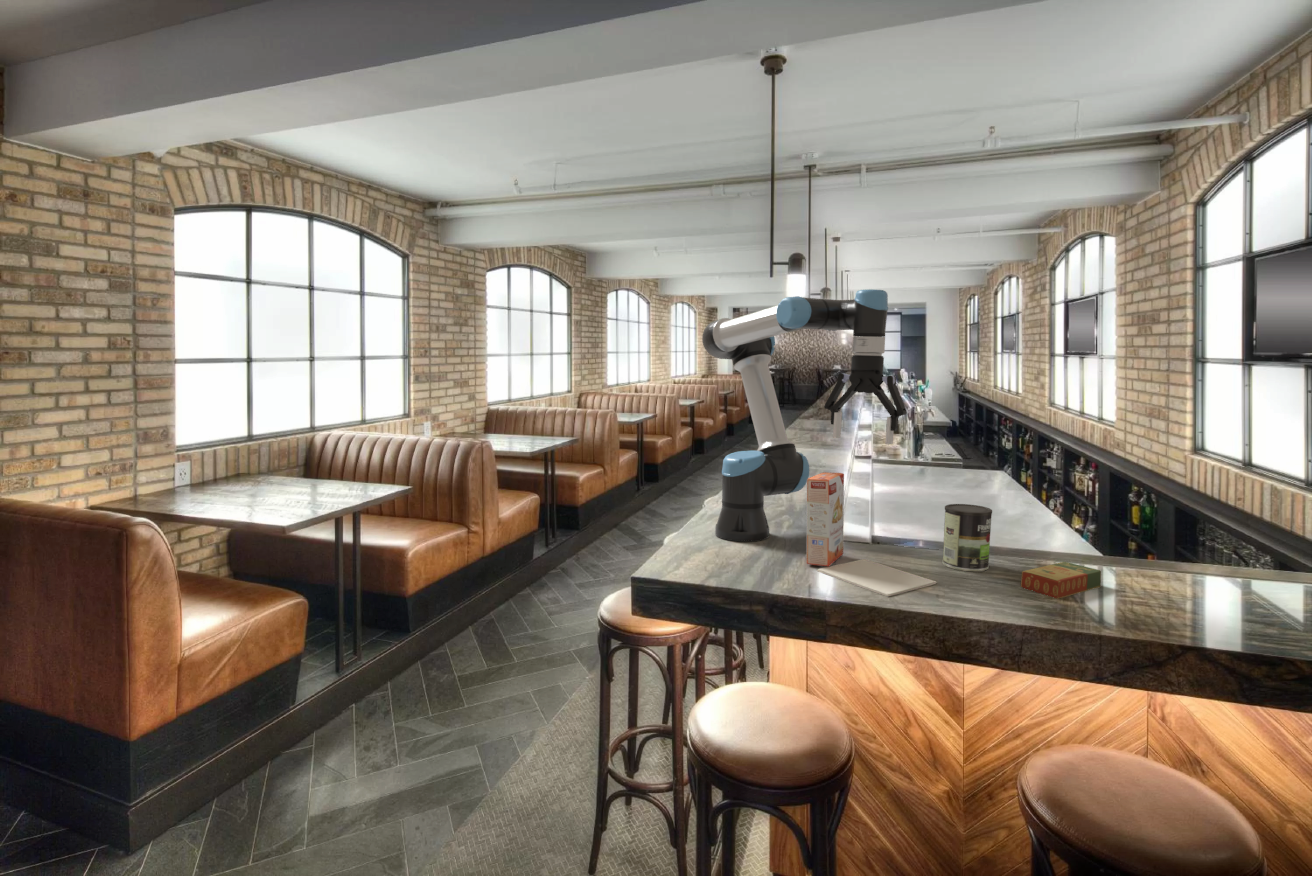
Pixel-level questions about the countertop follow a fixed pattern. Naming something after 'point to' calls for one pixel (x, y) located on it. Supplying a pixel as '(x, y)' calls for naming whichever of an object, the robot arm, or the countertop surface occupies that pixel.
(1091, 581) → the carton
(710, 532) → the countertop surface
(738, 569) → the countertop surface
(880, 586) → the mat
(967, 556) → the coffee can
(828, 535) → the cracker box
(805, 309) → the robot arm
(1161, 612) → the countertop surface
